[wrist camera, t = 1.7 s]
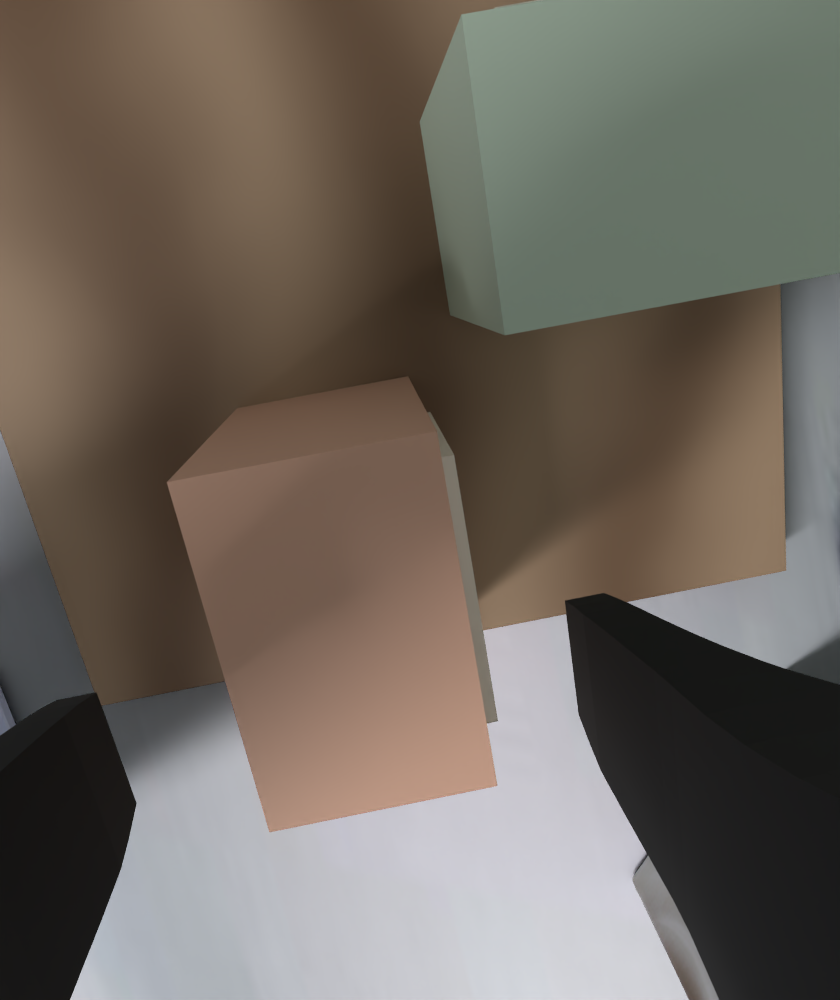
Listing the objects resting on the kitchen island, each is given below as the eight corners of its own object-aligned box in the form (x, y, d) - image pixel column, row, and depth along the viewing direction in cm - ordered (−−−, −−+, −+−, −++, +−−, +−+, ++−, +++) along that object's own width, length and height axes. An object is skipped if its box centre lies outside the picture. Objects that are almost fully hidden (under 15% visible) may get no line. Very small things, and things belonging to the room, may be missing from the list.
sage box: (722, 264, 18) (935, 254, 11) (450, 315, 18) (504, 335, 11) (713, 55, 17) (950, -95, 10) (417, 107, 16) (458, -11, 10)
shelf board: (113, 683, 21) (84, 731, 19) (-137, -35, 16) (-221, -88, 14) (763, 555, 22) (811, 587, 20) (741, -182, 16) (804, -257, 14)
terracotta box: (298, 650, 20) (269, 832, 14) (237, 408, 18) (167, 482, 11) (461, 618, 20) (512, 782, 14) (419, 374, 18) (455, 427, 12)
